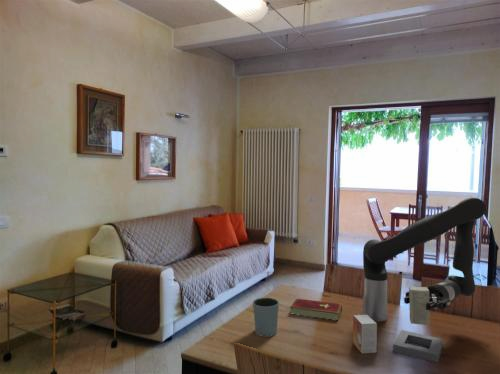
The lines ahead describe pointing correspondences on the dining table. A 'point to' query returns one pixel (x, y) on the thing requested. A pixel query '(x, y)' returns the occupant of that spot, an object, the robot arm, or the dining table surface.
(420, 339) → the pocket stand
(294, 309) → the hardcover book
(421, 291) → the skincare box
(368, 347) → the small box
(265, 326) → the grey ceramic cup
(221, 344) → the dining table surface
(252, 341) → the dining table surface
